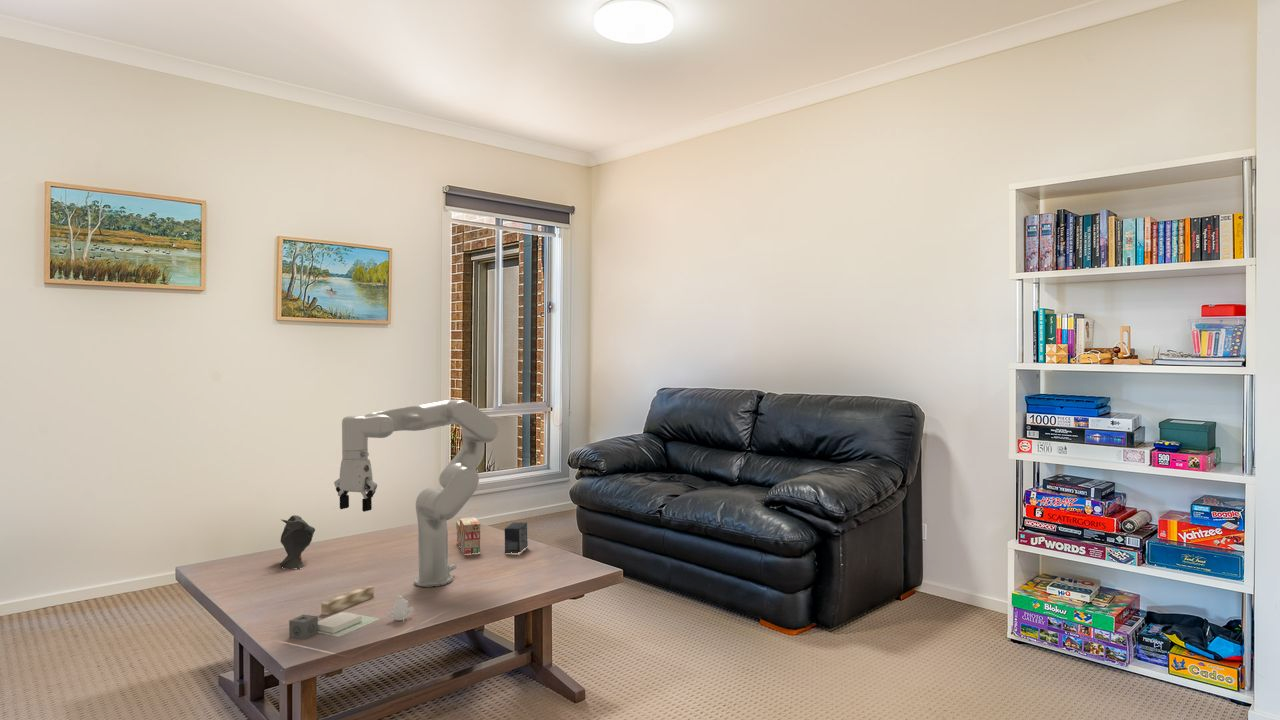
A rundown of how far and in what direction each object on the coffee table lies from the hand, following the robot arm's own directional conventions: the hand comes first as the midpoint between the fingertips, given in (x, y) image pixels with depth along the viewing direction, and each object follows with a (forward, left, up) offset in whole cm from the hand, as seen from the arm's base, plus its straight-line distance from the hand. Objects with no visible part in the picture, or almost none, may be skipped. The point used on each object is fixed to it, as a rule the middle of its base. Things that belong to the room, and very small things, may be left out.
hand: (355, 509), depth 228 cm
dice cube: (+29, +11, -29) cm, 42 cm away
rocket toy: (+9, +27, -29) cm, 40 cm away
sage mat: (+19, +14, -28) cm, 37 cm away
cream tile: (+15, +14, -27) cm, 34 cm away
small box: (-68, +13, -29) cm, 75 cm away
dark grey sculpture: (-22, -54, -28) cm, 65 cm away
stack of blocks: (-64, -7, -29) cm, 71 cm away
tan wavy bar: (+6, +3, -29) cm, 29 cm away
